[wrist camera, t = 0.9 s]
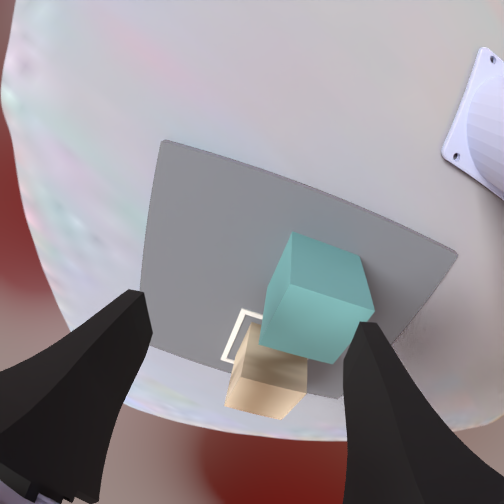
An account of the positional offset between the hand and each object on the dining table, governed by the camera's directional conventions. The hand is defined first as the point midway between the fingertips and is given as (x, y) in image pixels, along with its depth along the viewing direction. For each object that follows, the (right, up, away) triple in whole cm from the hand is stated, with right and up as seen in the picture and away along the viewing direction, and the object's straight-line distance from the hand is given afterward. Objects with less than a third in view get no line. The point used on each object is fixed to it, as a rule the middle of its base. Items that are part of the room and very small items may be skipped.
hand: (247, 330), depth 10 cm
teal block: (+4, +1, +9) cm, 10 cm away
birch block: (+2, -5, +13) cm, 14 cm away
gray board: (+2, -1, +12) cm, 12 cm away
